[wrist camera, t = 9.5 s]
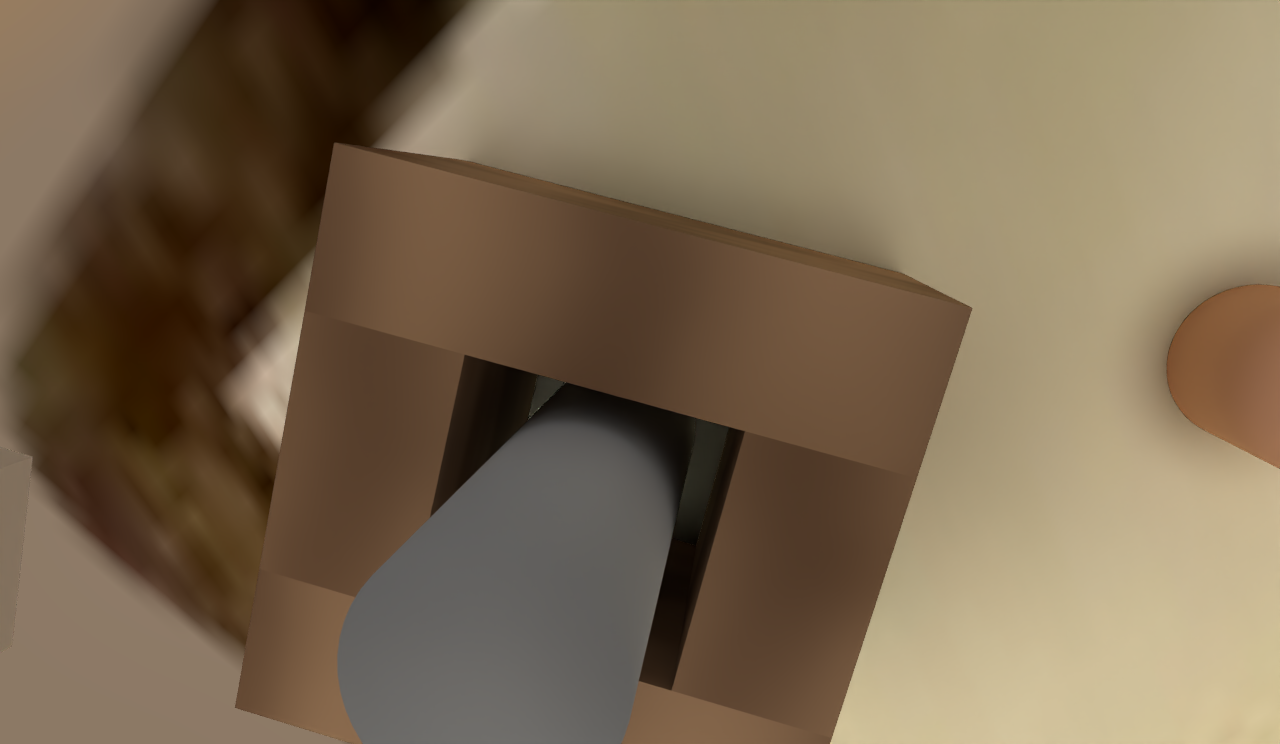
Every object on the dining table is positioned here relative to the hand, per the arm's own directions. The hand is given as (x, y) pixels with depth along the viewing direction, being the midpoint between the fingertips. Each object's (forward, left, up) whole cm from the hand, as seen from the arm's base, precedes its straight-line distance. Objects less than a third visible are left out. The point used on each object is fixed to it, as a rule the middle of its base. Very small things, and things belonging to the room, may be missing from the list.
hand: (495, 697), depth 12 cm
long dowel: (0, 0, -15) cm, 15 cm away
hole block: (0, 0, -15) cm, 15 cm away
